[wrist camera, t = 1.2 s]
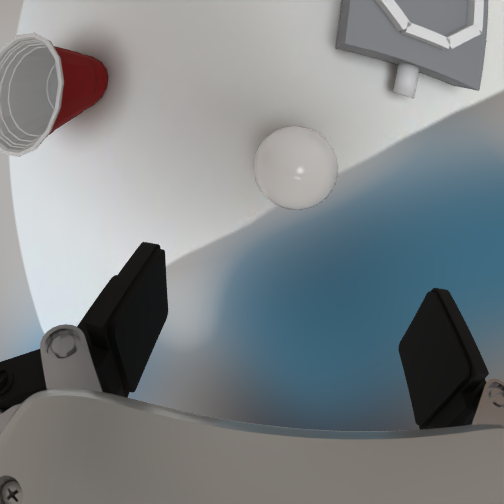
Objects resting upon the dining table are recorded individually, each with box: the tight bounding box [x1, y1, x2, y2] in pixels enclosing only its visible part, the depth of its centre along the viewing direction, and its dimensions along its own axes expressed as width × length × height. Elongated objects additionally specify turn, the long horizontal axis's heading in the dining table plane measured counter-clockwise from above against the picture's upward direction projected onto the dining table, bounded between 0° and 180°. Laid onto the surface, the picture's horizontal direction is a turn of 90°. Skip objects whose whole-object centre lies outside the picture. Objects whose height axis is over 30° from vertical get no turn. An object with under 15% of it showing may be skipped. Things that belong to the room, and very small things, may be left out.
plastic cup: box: [0, 33, 108, 157], centre depth 22 cm, size 11×11×12 cm
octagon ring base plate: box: [336, 0, 488, 98], centre depth 18 cm, size 18×13×6 cm
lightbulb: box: [254, 126, 338, 210], centre depth 25 cm, size 6×6×11 cm
